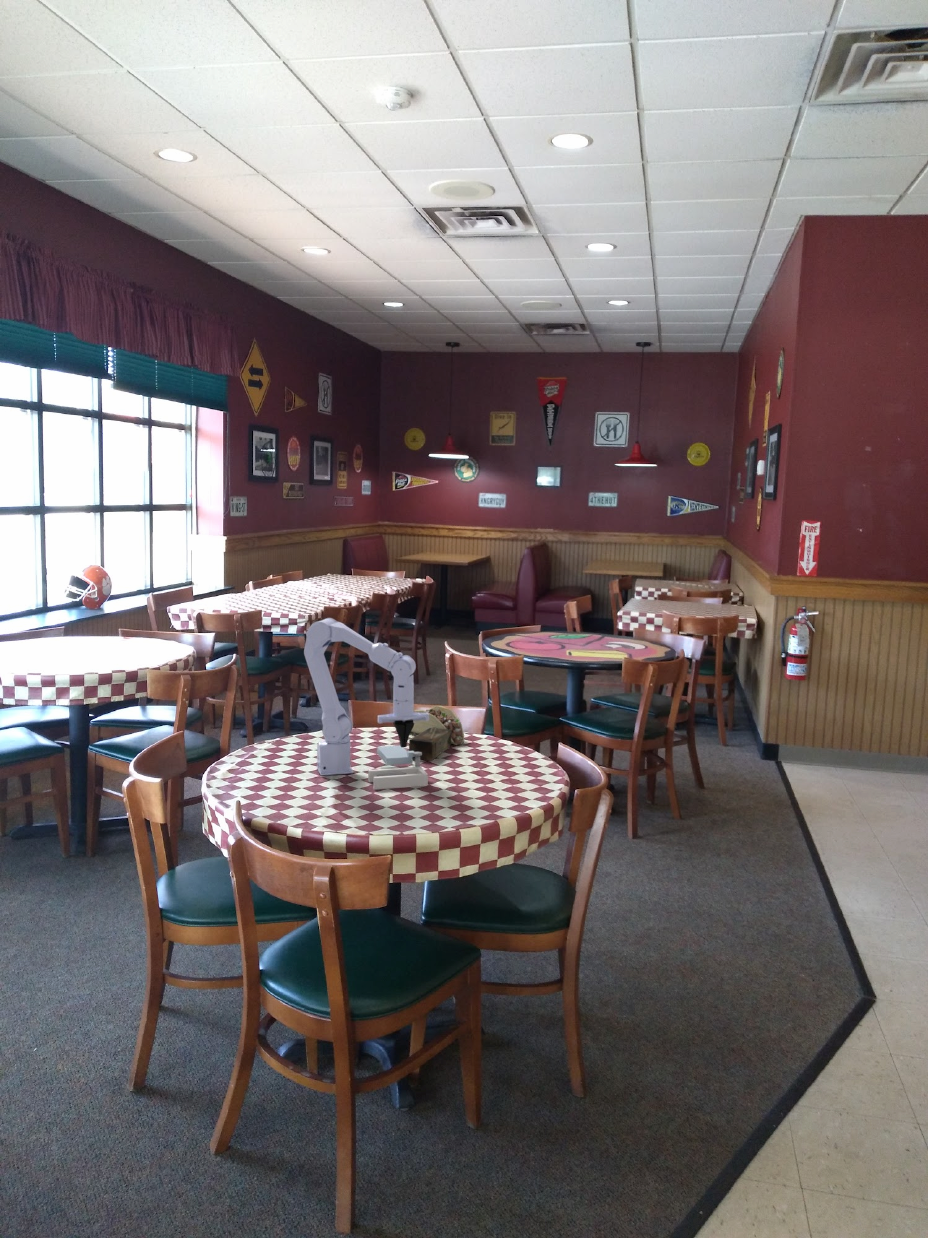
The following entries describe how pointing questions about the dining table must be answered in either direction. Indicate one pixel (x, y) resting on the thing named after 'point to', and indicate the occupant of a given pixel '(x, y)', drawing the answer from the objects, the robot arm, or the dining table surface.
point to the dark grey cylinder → (392, 774)
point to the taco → (441, 723)
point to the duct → (399, 777)
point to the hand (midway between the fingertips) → (403, 746)
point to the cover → (396, 755)
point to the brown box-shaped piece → (431, 743)
